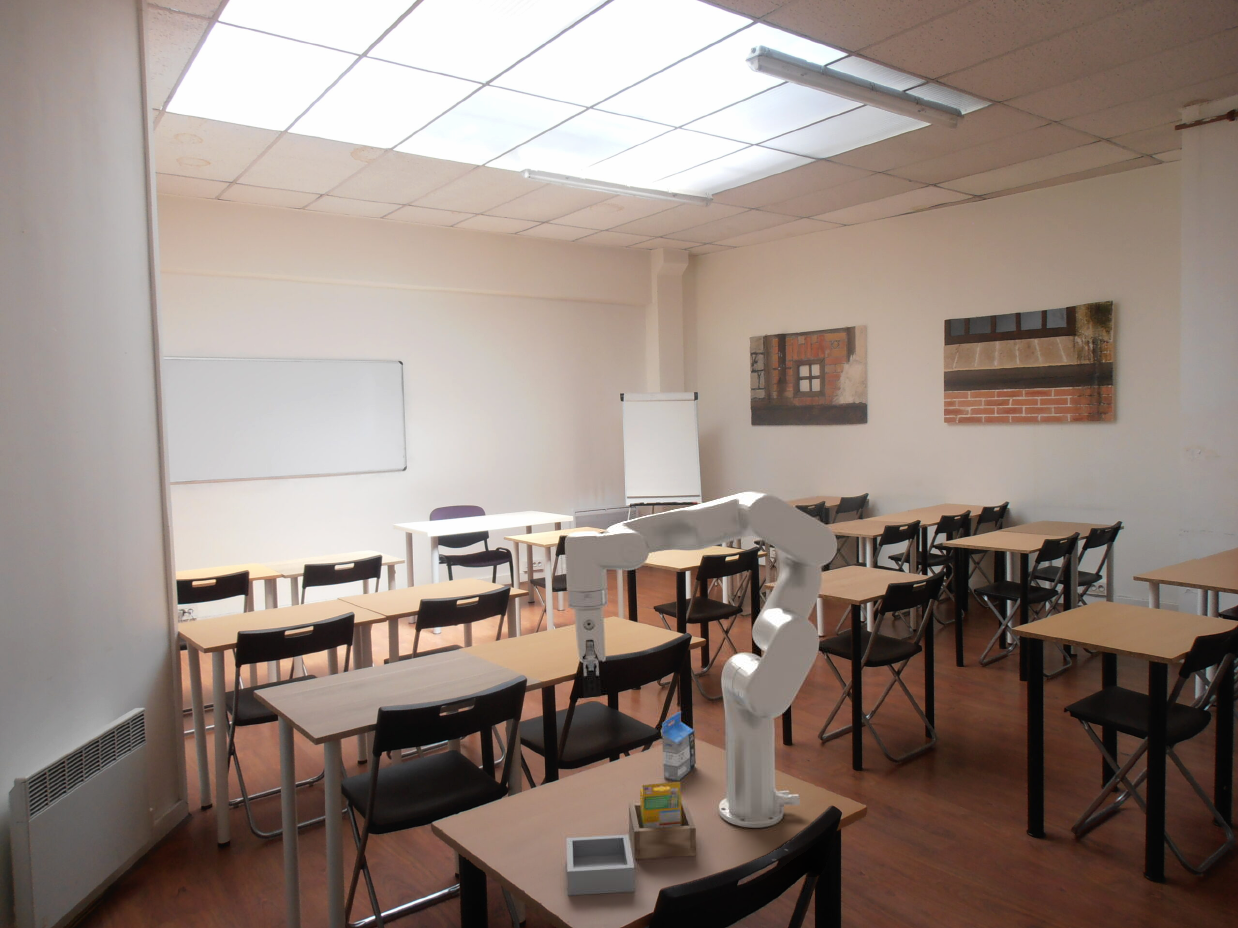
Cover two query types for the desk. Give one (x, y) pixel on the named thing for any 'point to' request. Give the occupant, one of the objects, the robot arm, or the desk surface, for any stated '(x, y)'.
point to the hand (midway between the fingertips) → (591, 687)
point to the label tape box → (677, 748)
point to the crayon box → (661, 805)
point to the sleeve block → (662, 836)
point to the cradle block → (599, 865)
